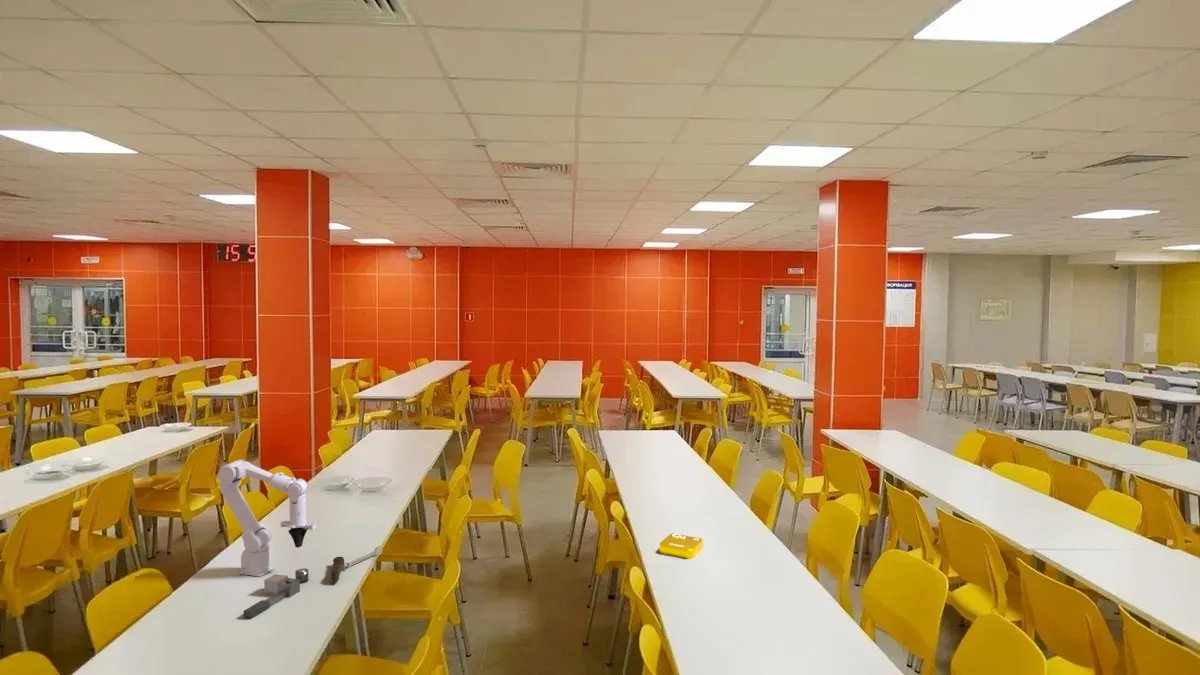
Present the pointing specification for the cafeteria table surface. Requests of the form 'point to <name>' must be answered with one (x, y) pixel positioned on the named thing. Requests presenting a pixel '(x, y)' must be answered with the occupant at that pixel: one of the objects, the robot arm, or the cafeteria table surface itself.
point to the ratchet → (274, 597)
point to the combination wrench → (362, 558)
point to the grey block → (273, 584)
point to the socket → (302, 575)
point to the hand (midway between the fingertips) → (298, 546)
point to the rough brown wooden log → (337, 568)
